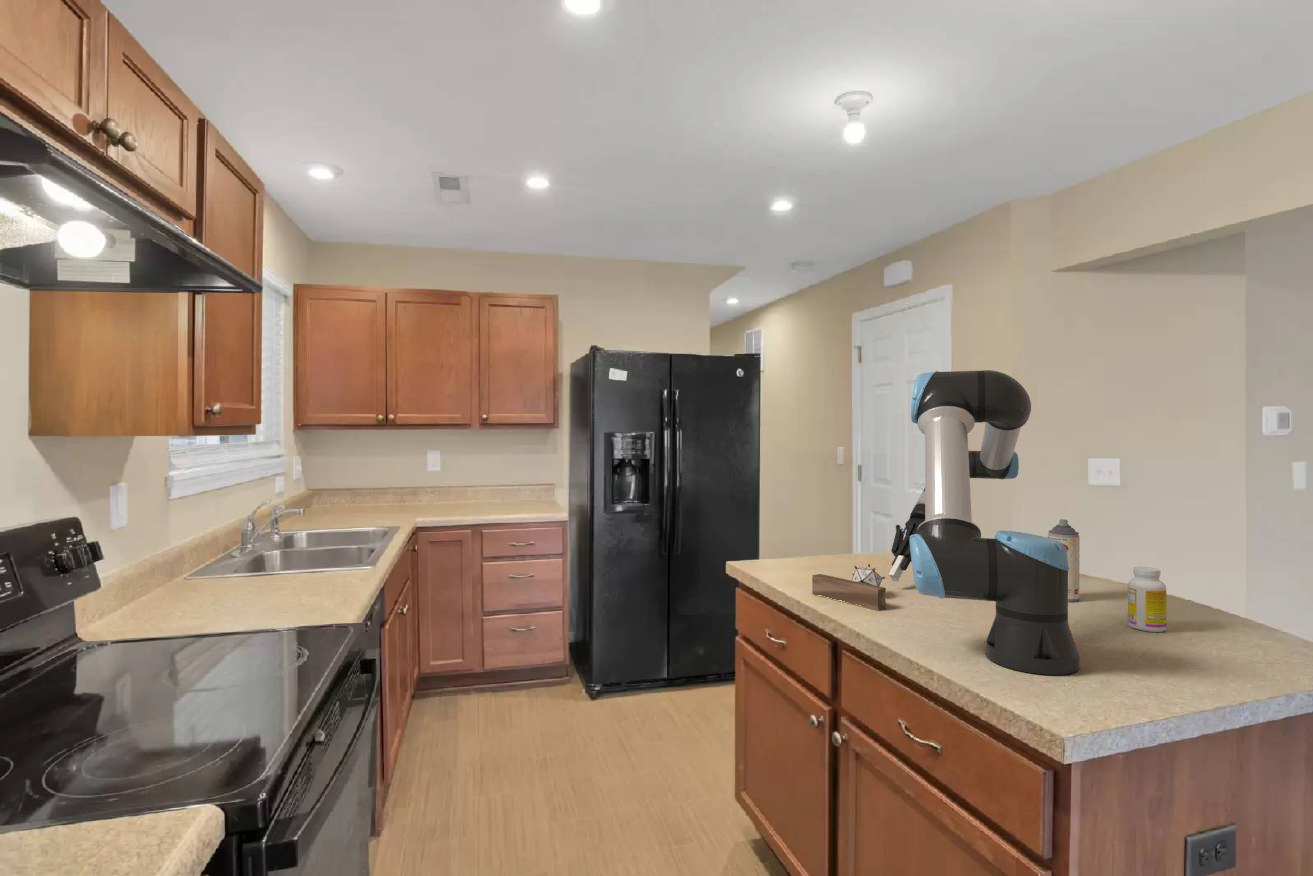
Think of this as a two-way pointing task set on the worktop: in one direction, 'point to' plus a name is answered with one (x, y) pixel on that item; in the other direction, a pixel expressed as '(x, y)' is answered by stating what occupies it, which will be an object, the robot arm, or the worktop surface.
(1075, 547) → the aerosol can
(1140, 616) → the supplement bottle
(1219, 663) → the worktop surface
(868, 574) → the game die
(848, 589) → the rail
